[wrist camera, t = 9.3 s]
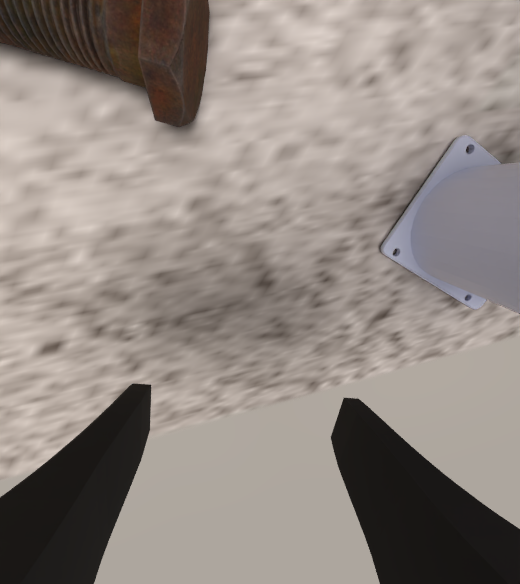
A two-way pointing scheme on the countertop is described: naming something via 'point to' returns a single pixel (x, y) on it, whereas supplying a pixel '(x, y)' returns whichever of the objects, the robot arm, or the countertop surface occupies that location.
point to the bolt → (122, 43)
